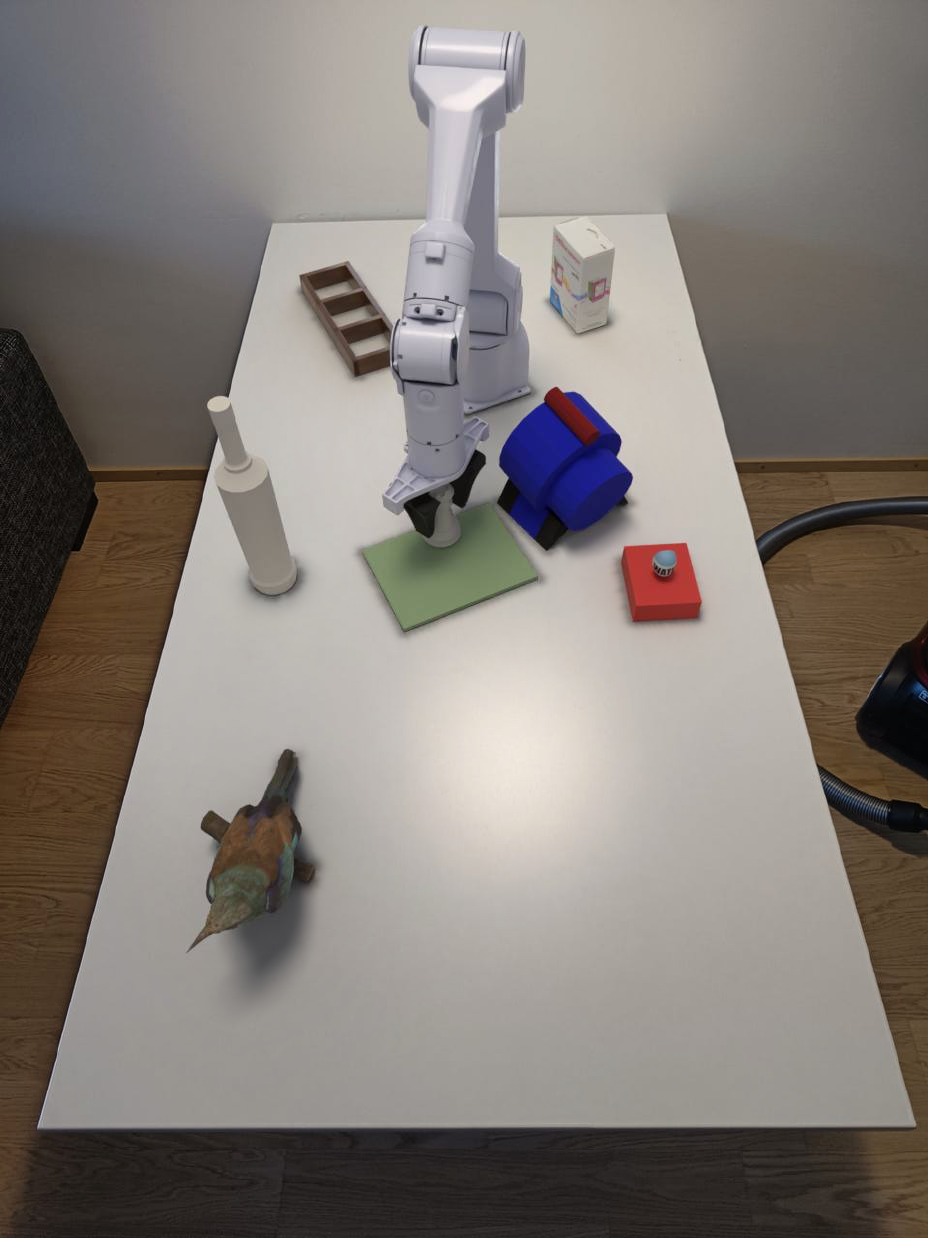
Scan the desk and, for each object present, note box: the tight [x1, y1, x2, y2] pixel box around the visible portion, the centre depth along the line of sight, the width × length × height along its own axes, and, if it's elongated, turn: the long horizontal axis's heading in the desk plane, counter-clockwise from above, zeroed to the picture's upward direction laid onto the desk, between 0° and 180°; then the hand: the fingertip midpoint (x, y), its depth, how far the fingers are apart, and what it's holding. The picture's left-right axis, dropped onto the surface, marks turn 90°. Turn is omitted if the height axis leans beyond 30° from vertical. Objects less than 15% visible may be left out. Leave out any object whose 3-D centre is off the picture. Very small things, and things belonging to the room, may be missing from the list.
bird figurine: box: [186, 748, 315, 954], centre depth 75 cm, size 13×10×20 cm
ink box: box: [549, 215, 616, 334], centre depth 119 cm, size 9×5×12 cm, turn 25°
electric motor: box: [496, 386, 634, 551], centre depth 97 cm, size 12×12×15 cm
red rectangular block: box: [620, 542, 703, 622], centre depth 93 cm, size 8×7×6 cm
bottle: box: [206, 395, 298, 596], centre depth 87 cm, size 5×5×25 cm
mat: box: [361, 502, 539, 633], centre depth 98 cm, size 16×12×1 cm
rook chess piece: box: [422, 483, 461, 547], centre depth 97 cm, size 4×4×8 cm
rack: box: [298, 260, 394, 378], centre depth 122 cm, size 8×21×2 cm, turn 25°
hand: (440, 517), depth 98 cm, fingers open, 5 cm apart
